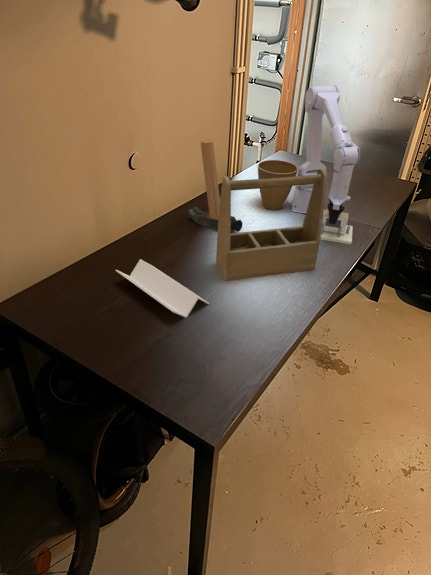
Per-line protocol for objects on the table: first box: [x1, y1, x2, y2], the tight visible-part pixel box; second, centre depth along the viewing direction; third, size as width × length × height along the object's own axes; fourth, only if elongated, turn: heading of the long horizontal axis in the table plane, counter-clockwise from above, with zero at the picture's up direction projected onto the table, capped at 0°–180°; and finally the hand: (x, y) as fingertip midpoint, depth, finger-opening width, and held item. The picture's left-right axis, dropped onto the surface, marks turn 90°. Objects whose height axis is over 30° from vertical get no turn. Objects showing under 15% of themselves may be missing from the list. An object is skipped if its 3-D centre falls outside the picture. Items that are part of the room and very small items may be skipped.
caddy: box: [215, 169, 328, 282], centre depth 124 cm, size 29×11×30 cm, turn 105°
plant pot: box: [257, 159, 299, 211], centre depth 164 cm, size 15×15×16 cm
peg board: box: [320, 224, 353, 245], centre depth 151 cm, size 15×12×4 cm
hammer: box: [187, 139, 243, 233], centre depth 146 cm, size 20×5×30 cm, turn 52°
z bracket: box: [115, 258, 211, 319], centre depth 119 cm, size 12×25×6 cm
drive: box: [322, 209, 349, 234], centre depth 149 cm, size 9×5×6 cm, turn 74°
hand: (332, 220), depth 149 cm, fingers closed on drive, 5 cm apart
